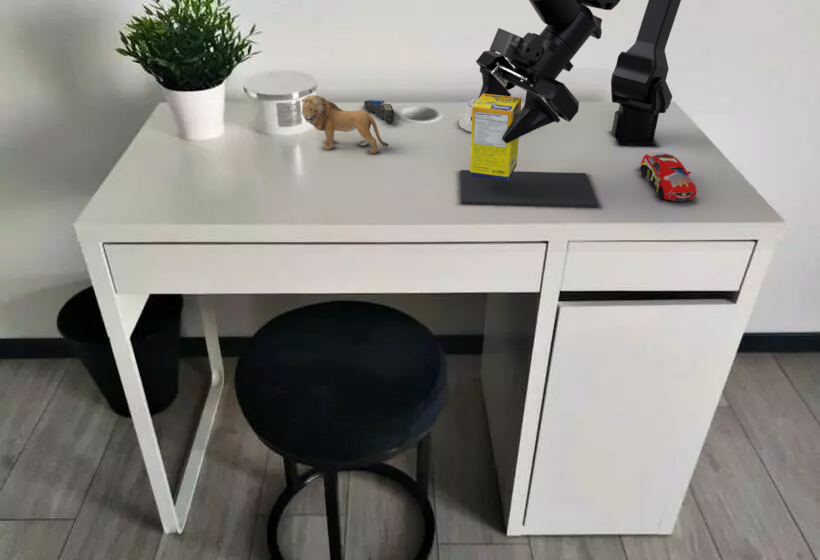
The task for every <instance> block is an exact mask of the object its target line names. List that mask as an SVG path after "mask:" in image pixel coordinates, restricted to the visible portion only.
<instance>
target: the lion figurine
mask: <svg viewBox="0 0 820 560" xmlns="http://www.w3.org/2000/svg"><path fill="white" fill-rule="evenodd" d="M301 101H302V102H301V103H302V104H301V115H302V118H303V119H304V120H305V122H306V123H308V124H310V125H312V126H314V128H315V129H316V130H317V131H321V132H324V134H325V138H326V140H325V145H324V149H325V150H331V149H333V147H334V144H335V143H334V139H335V132H342V133H348V132H353V131H355V130H357V132H358V133H359V135H360V136H361V138H363V139H364V140H360V142H359V145H360V146H366V145H368V144H370V145H371V146H372V147H370V148H369V150H368V151H369V153H371V154H376V153H377V152H378V149H379V147H378V143H377V141H378V142H379V143H380V145H381V146H382V147H385V148H387V147H389V146H390V145H389V143H388V142H385V141H383V140H382V138H381V136H380V135H381V134H380V133H379V129H378V126H377V123H376V121H375V119H374V118H373V116H372V115H371V114H370V113H369V111H365V110H363V109H357V110H344V109H341V108H340V107H338V106H337V104H335V103H334V102H332V101H330V100H327V99H326V98H325V97H322V96H319V95H315V94H308V95H307V96H306V97H304V98H302V99H301ZM371 126H372V128H373V131H374V133H375V136H376V138H377V139H376V138H375V137H374V136H373V134H372V133H371V130H370V129H371Z"/></svg>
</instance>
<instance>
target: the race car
mask: <svg viewBox="0 0 820 560" xmlns="http://www.w3.org/2000/svg"><path fill="white" fill-rule="evenodd" d="M639 169H640V172H641V176H642V178H645V179H646V180H647V182H648V183H649V184H650V185H651V186H652V188H653V189H654V191H655V192H656V193H658V198H659V199H660V200H667V201H672V202H688V201H689V202H690V201H692V200H695V198H696V196H697V193H698V190H697V189H698V188H697V186H696V184H695V183H694V181H693V180H692V178H691V177H690V175H691V174H692V172H691V171H687V169H686V167H685V166H684V164H682V162H681V161H680V160H679V159H678V158H677V157H675V156H674V155H673V154H669V153H664V152H649V153H646V154H644V155H643V157H642V159H641V162H640V167H639Z"/></svg>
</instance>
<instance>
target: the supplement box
mask: <svg viewBox="0 0 820 560" xmlns="http://www.w3.org/2000/svg"><path fill="white" fill-rule="evenodd" d="M478 98H479V97H478ZM521 110H522V97H521V96H512V95H511V96H502V95H492V94H484V93H483V94H482V95H481V97H480V98H479V99H478V100H477V102H476V103H475V104H474V105H473V107H472V129H471V132H470V156H469V157H470V158H469V159H470V161H469V170H470V176H471V177H480V178H487V179H495V180H502V181H508V180H509V179H510V177H511V175H512V173H513V171H515V169H516V167H517V165H518V164H517V163H518V151H519V139H520V137H519V138H517V139H515V140H513V141H511V142H509V143H505V142H504V141H503V140H502V137H503V135H504V134H505V132H506V131H507V129H508V128H509V126H510V125H511V123H512V122H513V121H514V119H515V118H516V117H517V115H518V114H519V112H520V111H521Z"/></svg>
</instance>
